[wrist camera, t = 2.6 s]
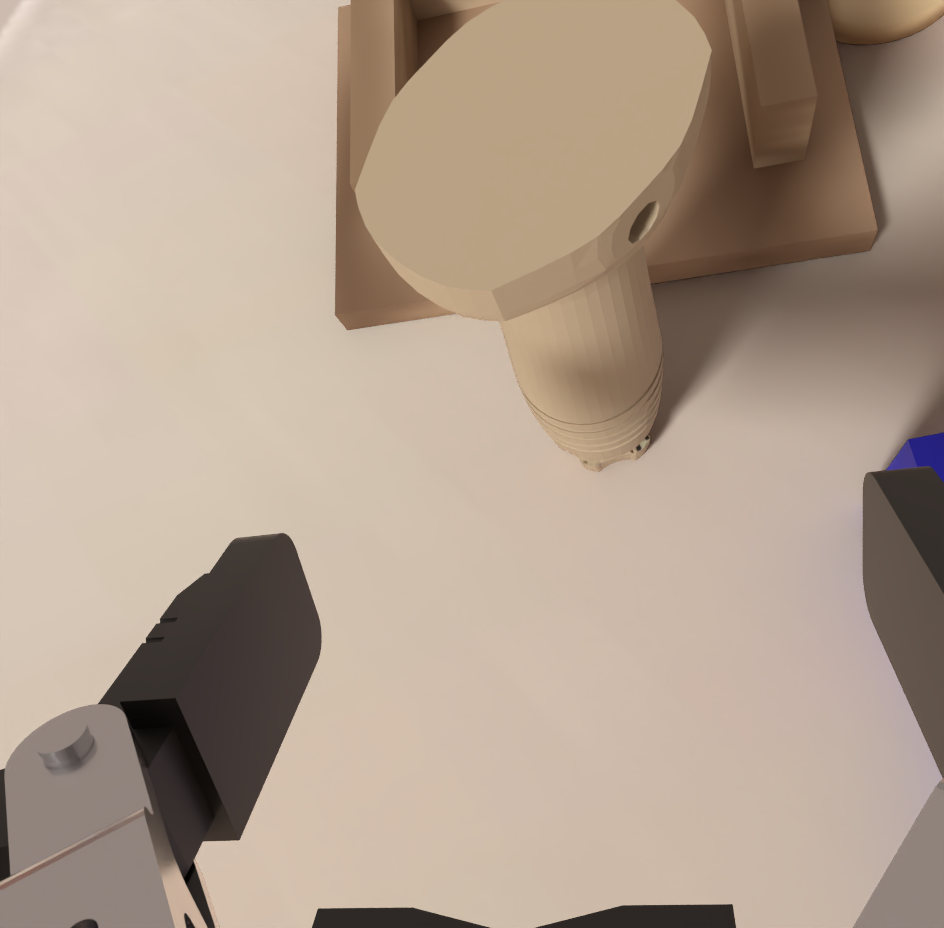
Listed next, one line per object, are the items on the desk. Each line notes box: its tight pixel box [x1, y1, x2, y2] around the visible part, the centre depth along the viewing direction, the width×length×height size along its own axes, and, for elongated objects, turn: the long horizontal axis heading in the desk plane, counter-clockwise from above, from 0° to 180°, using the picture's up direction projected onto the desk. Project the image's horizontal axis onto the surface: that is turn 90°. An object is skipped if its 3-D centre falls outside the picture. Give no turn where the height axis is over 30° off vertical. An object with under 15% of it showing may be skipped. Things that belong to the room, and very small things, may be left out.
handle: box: [355, 0, 712, 472], centre depth 21 cm, size 5×6×15 cm
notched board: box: [335, 0, 878, 330], centre depth 30 cm, size 18×14×4 cm
